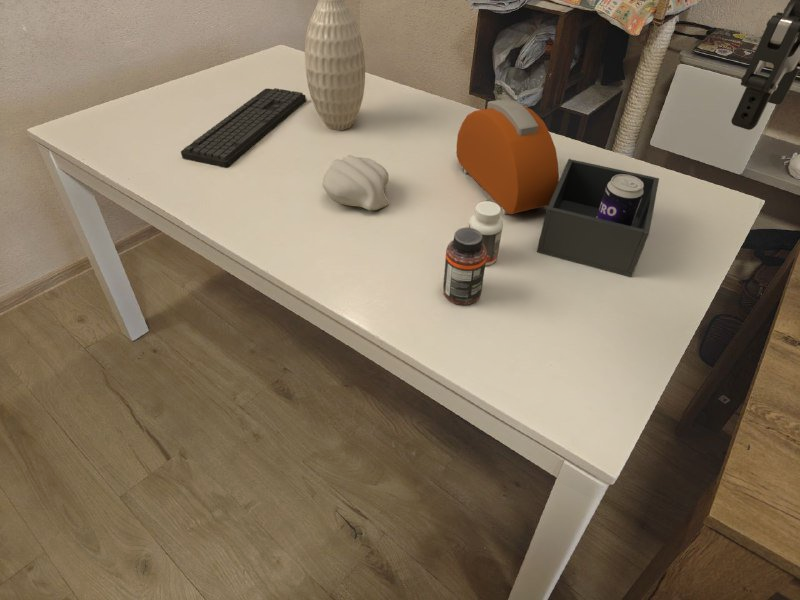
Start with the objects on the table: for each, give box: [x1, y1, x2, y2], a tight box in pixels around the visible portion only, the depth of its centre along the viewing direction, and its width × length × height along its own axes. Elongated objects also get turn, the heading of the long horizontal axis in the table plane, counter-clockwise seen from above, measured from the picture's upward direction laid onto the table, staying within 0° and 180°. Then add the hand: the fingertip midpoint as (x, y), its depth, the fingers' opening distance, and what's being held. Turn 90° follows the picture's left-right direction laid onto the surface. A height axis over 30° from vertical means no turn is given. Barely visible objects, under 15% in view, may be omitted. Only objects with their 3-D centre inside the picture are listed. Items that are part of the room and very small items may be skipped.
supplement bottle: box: [442, 227, 487, 306], centre depth 81 cm, size 6×6×11 cm
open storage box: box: [536, 158, 660, 278], centre depth 93 cm, size 16×18×9 cm
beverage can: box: [597, 174, 644, 226], centre depth 89 cm, size 6×6×12 cm
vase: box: [304, 0, 366, 131], centre depth 117 cm, size 13×13×28 cm
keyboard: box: [180, 87, 307, 169], centre depth 124 cm, size 35×11×2 cm, turn 160°
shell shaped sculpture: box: [322, 154, 390, 212], centre depth 102 cm, size 13×13×6 cm
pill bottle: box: [468, 200, 504, 267], centre depth 88 cm, size 5×5×10 cm
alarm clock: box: [456, 98, 560, 215], centre depth 101 cm, size 23×9×17 cm, turn 22°
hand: (756, 113), depth 57 cm, fingers open, 8 cm apart
